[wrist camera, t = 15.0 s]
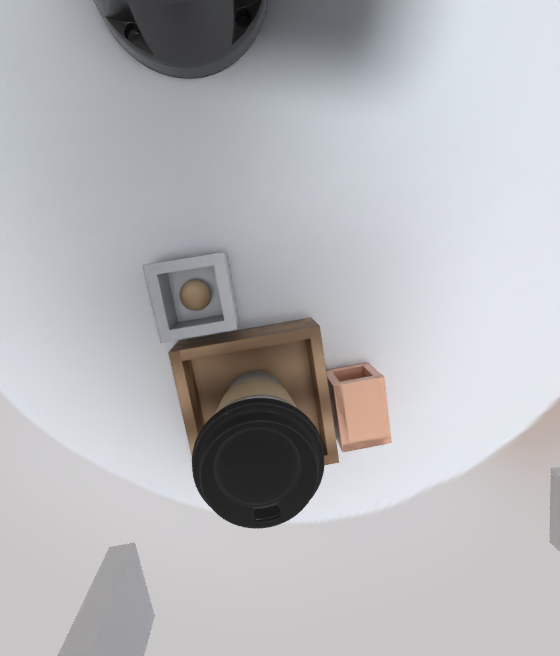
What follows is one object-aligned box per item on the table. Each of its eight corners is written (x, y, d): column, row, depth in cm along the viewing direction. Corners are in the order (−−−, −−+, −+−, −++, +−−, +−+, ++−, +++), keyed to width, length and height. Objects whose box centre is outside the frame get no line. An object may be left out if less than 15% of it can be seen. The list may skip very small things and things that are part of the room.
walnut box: (178, 340, 39) (168, 352, 34) (311, 317, 39) (319, 326, 34) (205, 461, 41) (199, 489, 36) (328, 438, 42) (339, 462, 37)
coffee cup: (248, 453, 40) (246, 563, 26) (192, 388, 39) (156, 467, 24) (317, 401, 40) (357, 484, 25) (264, 333, 38) (273, 380, 24)
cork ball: (179, 281, 37) (173, 283, 34) (209, 276, 37) (206, 277, 34) (185, 311, 37) (180, 315, 34) (215, 305, 38) (212, 310, 35)
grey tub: (156, 264, 37) (142, 265, 32) (226, 252, 37) (222, 251, 33) (172, 332, 38) (160, 342, 34) (238, 320, 39) (237, 329, 34)
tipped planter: (323, 370, 41) (333, 386, 36) (368, 362, 41) (384, 376, 36) (331, 429, 42) (342, 452, 37) (375, 421, 42) (391, 442, 37)
